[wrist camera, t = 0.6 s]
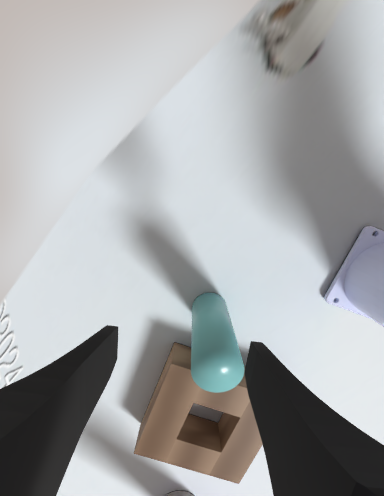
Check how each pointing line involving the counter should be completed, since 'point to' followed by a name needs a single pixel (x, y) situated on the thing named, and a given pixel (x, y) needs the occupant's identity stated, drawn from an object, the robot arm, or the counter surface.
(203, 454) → the socket block
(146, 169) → the counter surface
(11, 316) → the counter surface
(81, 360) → the robot arm
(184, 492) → the container
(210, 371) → the peg
